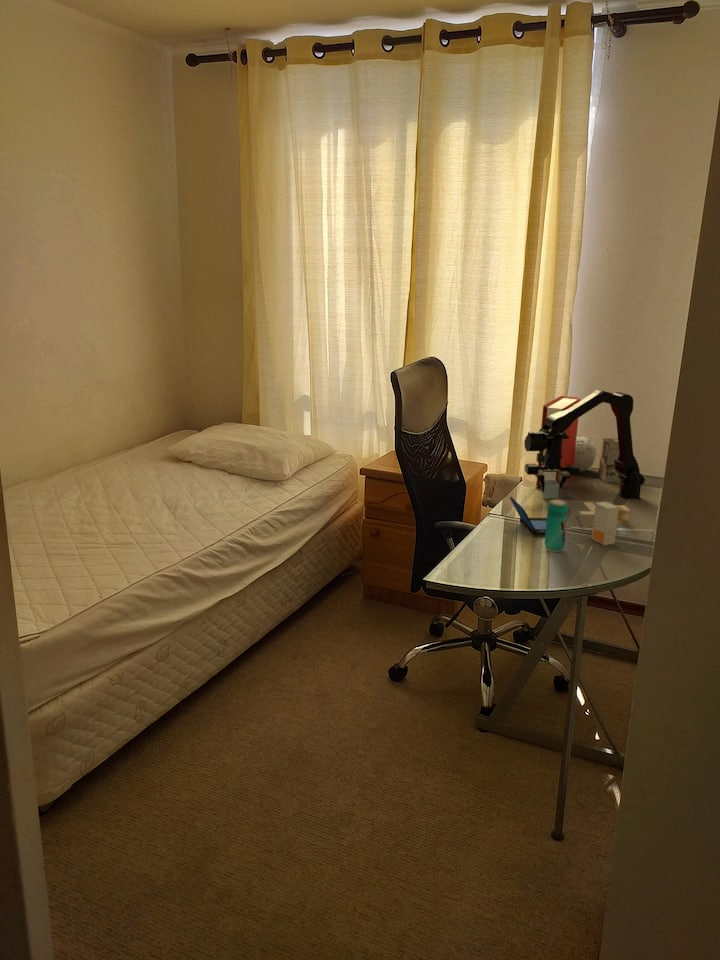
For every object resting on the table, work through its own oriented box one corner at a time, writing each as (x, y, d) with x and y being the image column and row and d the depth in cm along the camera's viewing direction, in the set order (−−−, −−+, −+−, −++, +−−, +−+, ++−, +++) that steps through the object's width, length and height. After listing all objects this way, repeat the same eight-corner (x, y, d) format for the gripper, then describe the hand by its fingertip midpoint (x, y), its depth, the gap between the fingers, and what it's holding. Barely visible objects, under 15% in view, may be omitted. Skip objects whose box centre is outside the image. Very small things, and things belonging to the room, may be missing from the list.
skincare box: (590, 539, 232) (594, 502, 229) (601, 537, 233) (605, 501, 230) (604, 545, 226) (608, 508, 223) (615, 544, 228) (619, 506, 225)
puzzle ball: (600, 475, 306) (604, 439, 302) (566, 476, 303) (570, 440, 299) (583, 466, 320) (586, 432, 316) (550, 467, 317) (553, 432, 313)
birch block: (622, 521, 250) (624, 505, 248) (627, 526, 245) (629, 510, 243) (606, 520, 250) (607, 505, 248) (611, 526, 245) (612, 510, 243)
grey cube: (555, 493, 272) (556, 480, 271) (558, 497, 267) (559, 484, 266) (541, 493, 272) (542, 479, 271) (544, 497, 268) (545, 483, 266)
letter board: (610, 502, 269) (611, 501, 269) (627, 518, 252) (627, 517, 252) (561, 501, 269) (561, 499, 269) (573, 517, 252) (574, 515, 252)
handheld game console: (562, 537, 234) (565, 509, 231) (520, 538, 232) (523, 509, 230) (546, 521, 249) (548, 494, 246) (507, 521, 247) (509, 495, 245)
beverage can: (560, 554, 219) (565, 506, 215) (541, 550, 222) (545, 502, 217) (566, 548, 223) (571, 501, 219) (547, 544, 226) (552, 497, 222)
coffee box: (620, 482, 295) (625, 443, 291) (604, 482, 296) (608, 442, 291) (613, 476, 304) (617, 438, 300) (597, 476, 304) (601, 437, 300)
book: (556, 490, 283) (564, 407, 274) (536, 487, 286) (543, 405, 278) (573, 474, 306) (581, 397, 297) (554, 471, 310) (561, 395, 301)
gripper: (574, 446, 273) (570, 486, 277) (523, 444, 273) (520, 485, 277) (582, 453, 262) (578, 495, 266) (529, 452, 262) (525, 494, 267)
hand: (550, 492), depth 270 cm, fingers closed on grey cube, 5 cm apart
